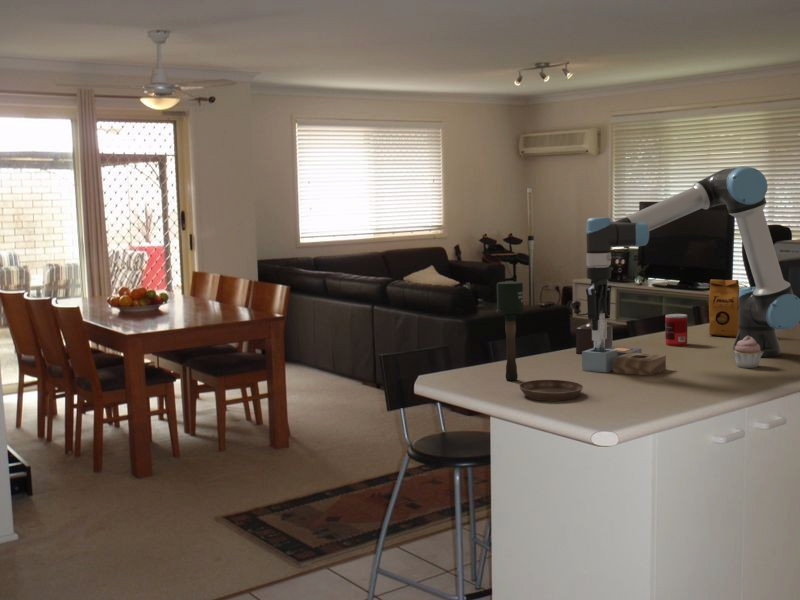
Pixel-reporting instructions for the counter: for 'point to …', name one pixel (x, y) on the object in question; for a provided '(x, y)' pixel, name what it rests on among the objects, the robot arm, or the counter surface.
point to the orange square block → (622, 349)
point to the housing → (633, 350)
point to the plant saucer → (551, 389)
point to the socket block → (640, 363)
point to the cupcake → (747, 353)
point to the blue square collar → (598, 360)
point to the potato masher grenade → (510, 319)
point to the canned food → (676, 329)
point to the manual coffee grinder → (587, 332)
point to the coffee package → (724, 308)
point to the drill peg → (600, 345)
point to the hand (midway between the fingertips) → (599, 339)
